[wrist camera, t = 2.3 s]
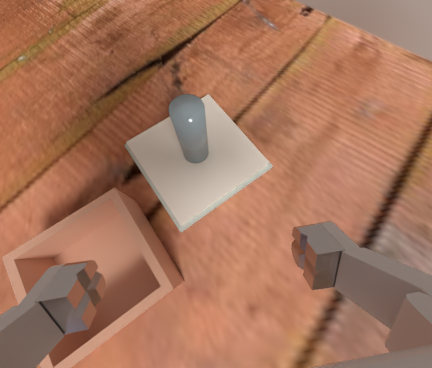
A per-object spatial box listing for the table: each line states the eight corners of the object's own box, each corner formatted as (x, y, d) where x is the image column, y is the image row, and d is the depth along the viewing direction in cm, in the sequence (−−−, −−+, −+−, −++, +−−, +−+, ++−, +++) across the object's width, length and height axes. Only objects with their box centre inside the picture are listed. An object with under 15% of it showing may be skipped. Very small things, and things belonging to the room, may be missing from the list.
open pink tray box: (50, 256, 23) (1, 257, 18) (136, 201, 25) (114, 187, 20) (91, 351, 20) (46, 386, 15) (184, 280, 22) (173, 288, 17)
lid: (129, 145, 27) (87, 95, 18) (208, 99, 29) (205, 35, 21) (181, 225, 23) (161, 210, 15) (267, 165, 26) (291, 121, 17)
